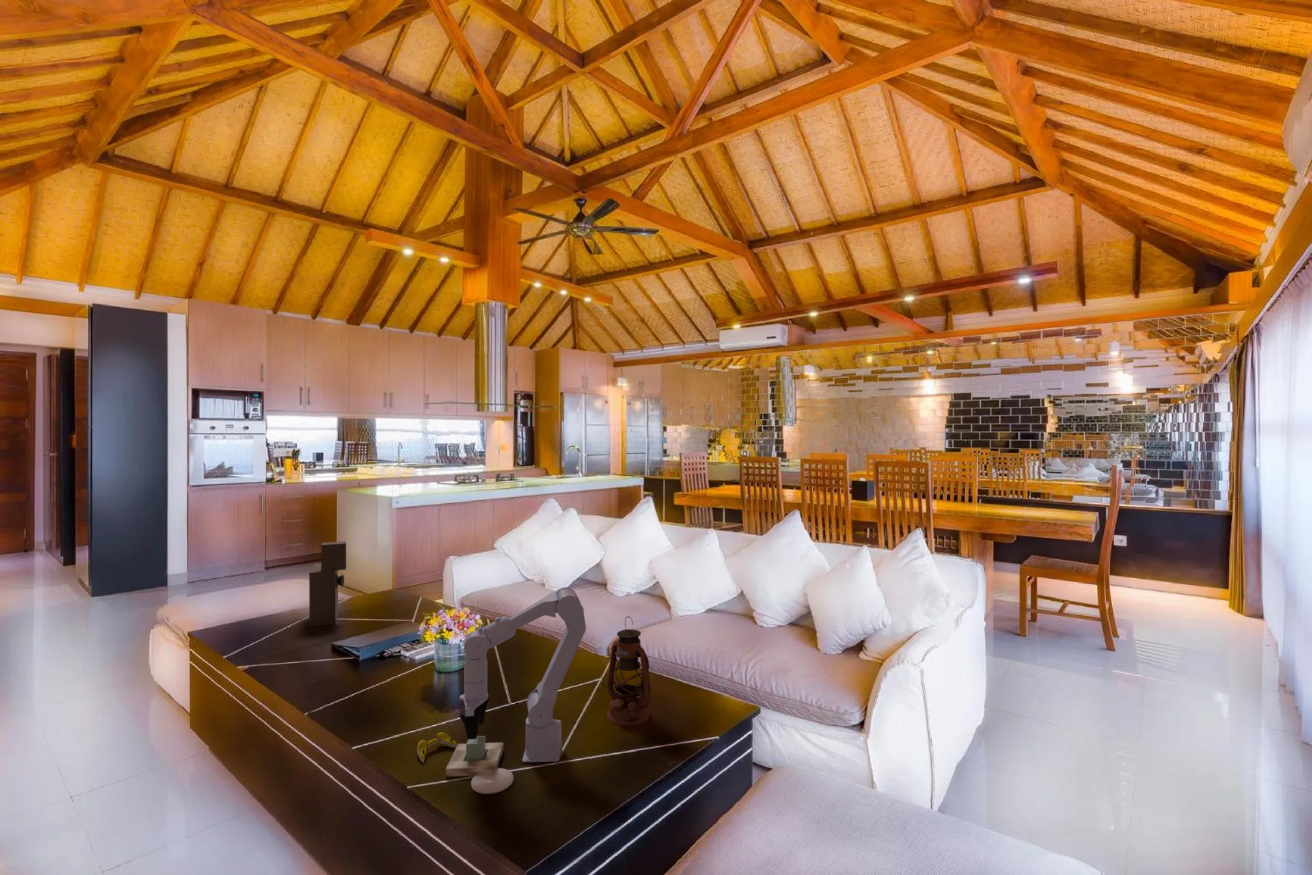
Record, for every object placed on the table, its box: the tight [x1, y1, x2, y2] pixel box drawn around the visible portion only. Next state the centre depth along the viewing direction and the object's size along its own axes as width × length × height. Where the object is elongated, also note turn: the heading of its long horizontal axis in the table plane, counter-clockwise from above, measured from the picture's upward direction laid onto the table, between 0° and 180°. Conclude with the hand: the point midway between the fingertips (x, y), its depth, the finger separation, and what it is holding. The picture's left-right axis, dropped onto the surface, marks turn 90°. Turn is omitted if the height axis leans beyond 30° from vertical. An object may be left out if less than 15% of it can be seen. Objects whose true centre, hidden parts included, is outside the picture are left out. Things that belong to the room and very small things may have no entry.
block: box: [465, 735, 486, 761], centre depth 160 cm, size 4×4×6 cm
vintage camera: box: [308, 541, 347, 627], centre depth 279 cm, size 19×14×35 cm
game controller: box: [416, 731, 458, 764], centre depth 165 cm, size 10×6×4 cm, turn 141°
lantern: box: [606, 615, 652, 727], centre depth 186 cm, size 17×13×30 cm
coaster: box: [470, 767, 514, 795], centre depth 151 cm, size 10×10×1 cm
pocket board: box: [445, 742, 504, 777], centre depth 160 cm, size 12×12×2 cm
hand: (475, 731), depth 160 cm, fingers open, 7 cm apart
